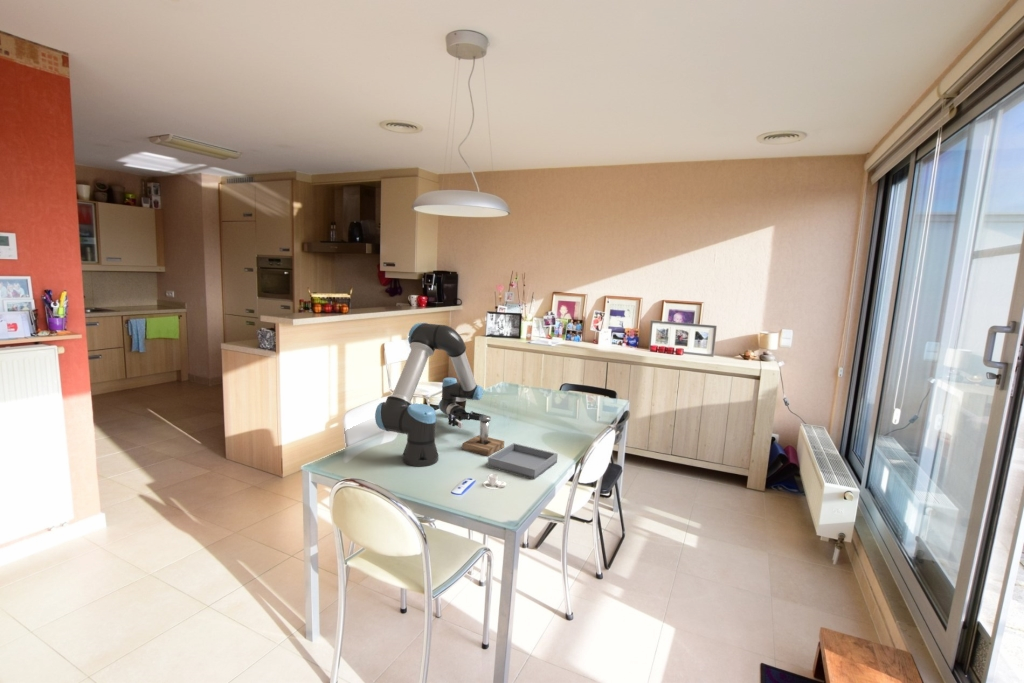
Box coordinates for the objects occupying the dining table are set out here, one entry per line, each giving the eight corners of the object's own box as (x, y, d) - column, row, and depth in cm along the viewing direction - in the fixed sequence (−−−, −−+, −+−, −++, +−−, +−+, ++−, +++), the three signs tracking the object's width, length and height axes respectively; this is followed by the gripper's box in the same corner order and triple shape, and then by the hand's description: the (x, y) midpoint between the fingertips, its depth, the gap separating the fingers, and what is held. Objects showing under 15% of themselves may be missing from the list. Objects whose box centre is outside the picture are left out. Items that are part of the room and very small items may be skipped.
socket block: (488, 456, 223) (488, 449, 222) (462, 449, 229) (462, 443, 229) (504, 447, 235) (504, 441, 234) (479, 441, 241) (479, 435, 241)
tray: (534, 479, 201) (535, 469, 200) (487, 466, 211) (488, 457, 210) (557, 462, 220) (557, 453, 219) (513, 451, 230) (513, 443, 230)
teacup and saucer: (509, 487, 193) (509, 477, 193) (493, 492, 188) (494, 482, 187) (493, 479, 199) (494, 469, 199) (478, 484, 194) (479, 474, 193)
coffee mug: (467, 415, 282) (467, 398, 281) (464, 419, 274) (464, 402, 272) (446, 413, 283) (447, 396, 282) (443, 418, 275) (443, 400, 273)
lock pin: (485, 451, 228) (486, 419, 226) (475, 448, 231) (477, 417, 229) (491, 448, 233) (492, 416, 231) (481, 445, 235) (483, 414, 233)
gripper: (477, 416, 264) (497, 428, 246) (433, 422, 251) (450, 435, 233) (478, 403, 263) (498, 414, 245) (433, 407, 250) (450, 419, 232)
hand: (474, 424), depth 239 cm, fingers open, 13 cm apart
